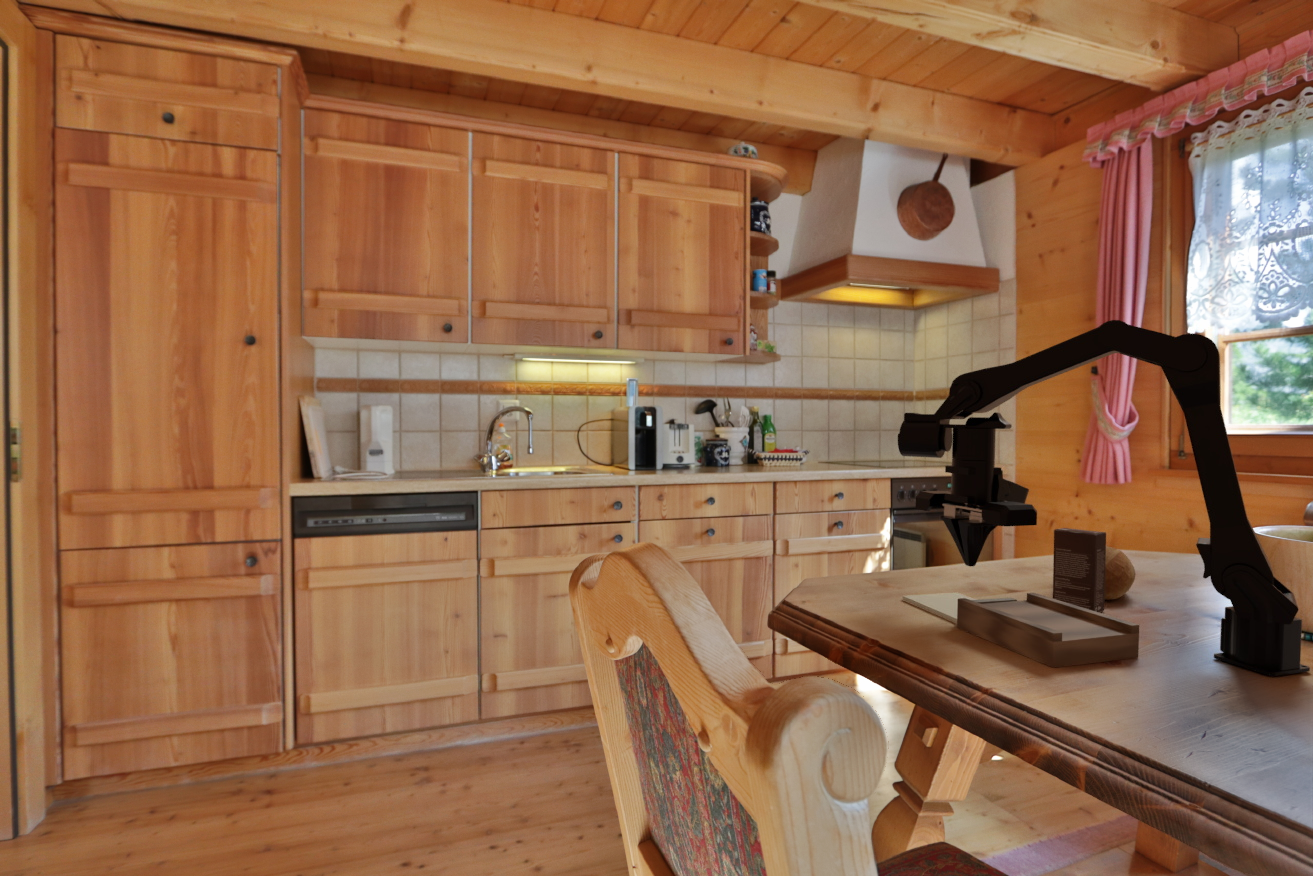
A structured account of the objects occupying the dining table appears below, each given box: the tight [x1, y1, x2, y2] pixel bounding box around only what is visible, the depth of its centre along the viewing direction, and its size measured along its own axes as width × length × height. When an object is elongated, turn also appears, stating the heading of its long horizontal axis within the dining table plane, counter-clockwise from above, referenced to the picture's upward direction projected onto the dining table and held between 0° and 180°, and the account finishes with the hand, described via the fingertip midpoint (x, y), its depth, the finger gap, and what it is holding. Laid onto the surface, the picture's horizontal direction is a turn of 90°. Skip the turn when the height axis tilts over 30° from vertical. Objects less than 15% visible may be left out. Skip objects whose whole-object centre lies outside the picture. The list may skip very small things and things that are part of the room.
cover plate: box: [902, 592, 1018, 625], centre depth 106 cm, size 14×10×4 cm
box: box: [1052, 527, 1107, 613], centre depth 107 cm, size 6×4×12 cm
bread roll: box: [1105, 545, 1136, 600], centre depth 117 cm, size 10×15×8 cm, turn 153°
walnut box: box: [956, 592, 1140, 668], centre depth 91 cm, size 16×13×4 cm
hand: (970, 565), depth 104 cm, fingers closed
